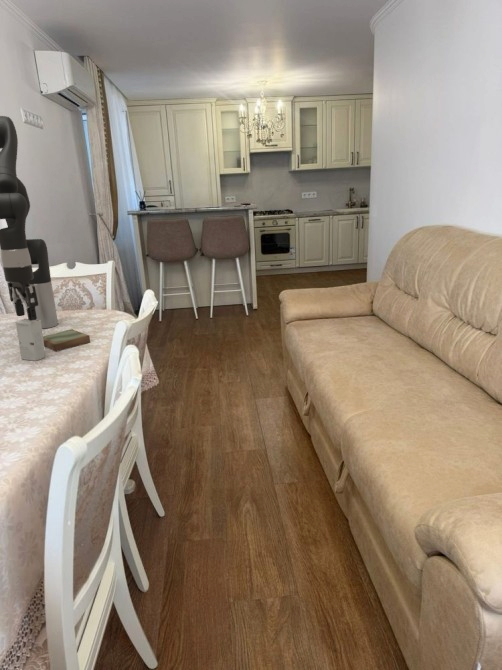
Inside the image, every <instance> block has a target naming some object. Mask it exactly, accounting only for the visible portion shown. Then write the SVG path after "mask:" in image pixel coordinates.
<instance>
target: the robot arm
mask: <svg viewBox="0 0 502 670" xmlns="http://www.w3.org/2000/svg"><path fill="white" fill-rule="evenodd" d="M18 144H19V142H18V134H17V129H16V127H15V124H14V122H13V120H12V119H11V118H10V117H9V116H5V115H0V149H1V150H0V220H5V222H6V223H5V224H6V225H7V226H6V227H3V228H0V254H1V255H0V256H1V258H0V259H1V263H2V267H3V268H2V269H3V273H4V279H5V281H6V282H7V287H8V293H9V294H8V295H9V300H10V302H12V303H13V305H14V308H15V313H16V314H15V315H16V316H17V317H22V316H23V317H24V316H25V314H27V319H28V320H30V321H32V320H41V326H42V329H48V328H53V327H54V328H55V327H56V326H58V325H59V322H58V313H57V308H56V301H55V295H54V289H53V284H52V283H53V282H52V277H51V270H50V264H49V252H48V247H47V244H46V243H47V242H46V241H45V240H44V239H42V238H33V239H31V238H29V239H28V238H27V236H26V235H27V234H26V222H27V221H26V220H27V217H28V215H29V212H30V210H31V209H30V208H31V202H30V198H29V195H28V192H27V187H26V186H25V184H24V183H23V182H22V181H21V180H20V179H19V178H18V175H17V159H18V146H19V145H18ZM33 265H38V267H37V269H35V271H34V270H33ZM23 303H24V304H23ZM24 305H25V308H26V313H25V308H24Z"/></svg>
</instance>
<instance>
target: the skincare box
mask: <svg viewBox="0 0 502 670" xmlns="http://www.w3.org/2000/svg"><path fill="white" fill-rule="evenodd" d="M15 327H16V332H17V333H16V334H17V338H18V345H19V346H18V347H19V352H20V353H19V354H20V359H22V360H27V361H33V362H37V361H39V360H41V359H44V358H45V357H46V349H45V348H46V347H44V341H43V336H44V334H43V328H42V326H41V320H32V321H30V320H28V318H23V319H20V320H17V321H16V322H15Z"/></svg>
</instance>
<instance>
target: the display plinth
mask: <svg viewBox="0 0 502 670" xmlns="http://www.w3.org/2000/svg"><path fill="white" fill-rule="evenodd" d="M43 341H44V348H47V349H49V350H52V351H54V352H59V351H60V352H61V351H64V350H67V349H72V348H75V347H78V346H83V345H86V344H89V343H91V338H90V335H89V334H87V333H84V332H81V331H78V330H75V329H72V328H71V329H69V330H64V331H60V332H56V333H52V334H48V335H43Z"/></svg>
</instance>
